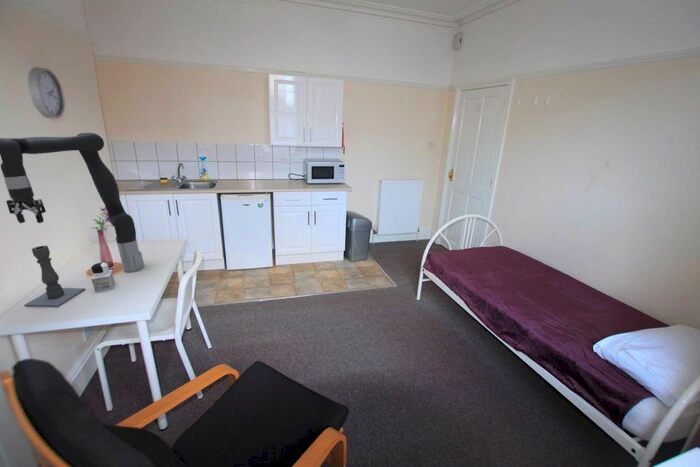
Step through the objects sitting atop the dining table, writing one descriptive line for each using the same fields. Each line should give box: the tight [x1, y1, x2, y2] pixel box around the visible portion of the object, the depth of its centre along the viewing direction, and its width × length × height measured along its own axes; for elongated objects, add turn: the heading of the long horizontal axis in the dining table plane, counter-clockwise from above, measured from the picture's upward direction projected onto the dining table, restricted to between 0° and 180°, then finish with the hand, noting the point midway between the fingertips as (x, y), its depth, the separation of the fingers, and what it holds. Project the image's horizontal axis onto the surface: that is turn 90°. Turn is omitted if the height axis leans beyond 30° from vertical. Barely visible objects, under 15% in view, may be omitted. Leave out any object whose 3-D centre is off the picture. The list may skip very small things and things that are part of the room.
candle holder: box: [31, 245, 64, 299], centre depth 156 cm, size 6×6×25 cm
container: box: [90, 262, 116, 293], centre depth 168 cm, size 8×8×13 cm
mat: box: [23, 287, 86, 308], centre depth 160 cm, size 16×16×1 cm
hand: (31, 222), depth 148 cm, fingers open, 8 cm apart
